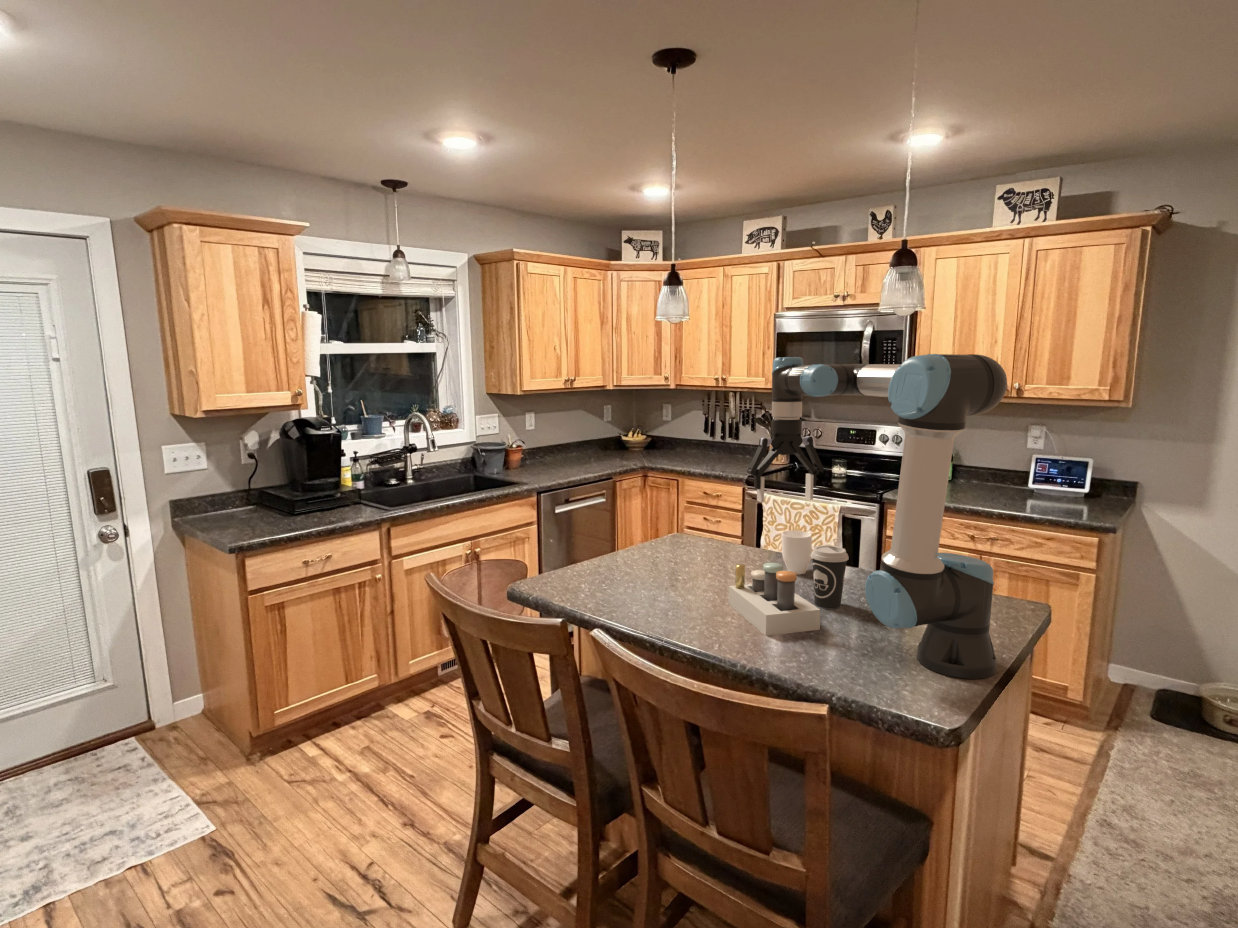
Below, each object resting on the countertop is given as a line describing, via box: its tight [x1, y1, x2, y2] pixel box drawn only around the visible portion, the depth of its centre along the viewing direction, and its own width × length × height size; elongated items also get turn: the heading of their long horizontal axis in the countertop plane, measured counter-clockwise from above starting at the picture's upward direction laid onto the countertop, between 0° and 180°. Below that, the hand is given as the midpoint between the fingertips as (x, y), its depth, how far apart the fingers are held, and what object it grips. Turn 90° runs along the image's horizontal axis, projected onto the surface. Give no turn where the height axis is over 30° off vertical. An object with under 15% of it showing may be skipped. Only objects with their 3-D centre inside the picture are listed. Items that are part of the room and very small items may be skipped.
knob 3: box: [776, 570, 798, 611], centre depth 166 cm, size 5×5×9 cm
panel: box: [728, 583, 821, 637], centre depth 173 cm, size 22×14×5 cm, turn 14°
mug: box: [781, 530, 813, 575], centre depth 210 cm, size 12×9×12 cm
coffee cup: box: [810, 544, 849, 610], centre depth 181 cm, size 10×10×15 cm
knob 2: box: [762, 562, 784, 601], centre depth 172 cm, size 5×5×9 cm
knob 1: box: [750, 569, 765, 592], centre depth 180 cm, size 5×5×9 cm
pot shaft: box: [734, 563, 746, 589], centre depth 180 cm, size 2×2×6 cm
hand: (784, 500), depth 179 cm, fingers open, 13 cm apart
